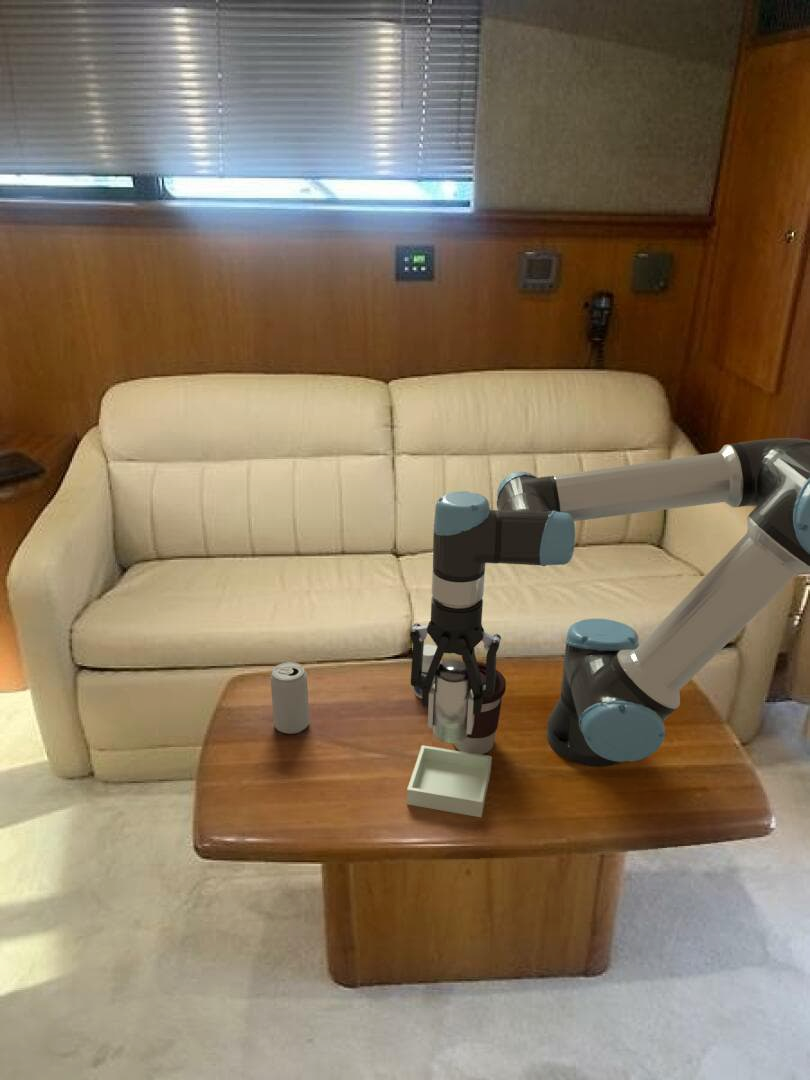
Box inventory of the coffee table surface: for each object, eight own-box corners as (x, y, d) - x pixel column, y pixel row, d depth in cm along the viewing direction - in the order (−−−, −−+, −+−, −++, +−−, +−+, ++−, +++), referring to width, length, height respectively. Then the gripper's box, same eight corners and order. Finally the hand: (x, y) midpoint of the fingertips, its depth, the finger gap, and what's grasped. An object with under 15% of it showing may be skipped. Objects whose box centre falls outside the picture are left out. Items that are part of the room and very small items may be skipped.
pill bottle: (415, 683, 156) (416, 641, 152) (442, 685, 155) (444, 643, 151) (412, 699, 151) (412, 656, 147) (440, 701, 151) (441, 658, 146)
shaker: (470, 724, 126) (474, 661, 121) (464, 745, 122) (468, 681, 117) (436, 718, 128) (439, 656, 123) (429, 739, 123) (432, 675, 118)
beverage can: (303, 738, 140) (299, 682, 135) (269, 734, 141) (264, 678, 136) (314, 717, 146) (311, 662, 141) (281, 712, 147) (277, 658, 142)
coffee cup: (451, 764, 134) (454, 691, 128) (440, 728, 143) (442, 658, 137) (507, 758, 136) (513, 686, 130) (493, 723, 145) (498, 654, 138)
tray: (490, 770, 133) (491, 756, 132) (481, 817, 123) (482, 802, 122) (421, 759, 135) (421, 745, 134) (407, 804, 126) (407, 789, 124)
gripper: (523, 592, 116) (511, 720, 126) (401, 577, 120) (399, 702, 129) (518, 617, 109) (506, 750, 119) (389, 600, 113) (388, 731, 123)
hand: (450, 725), depth 124 cm, fingers closed on shaker, 5 cm apart
